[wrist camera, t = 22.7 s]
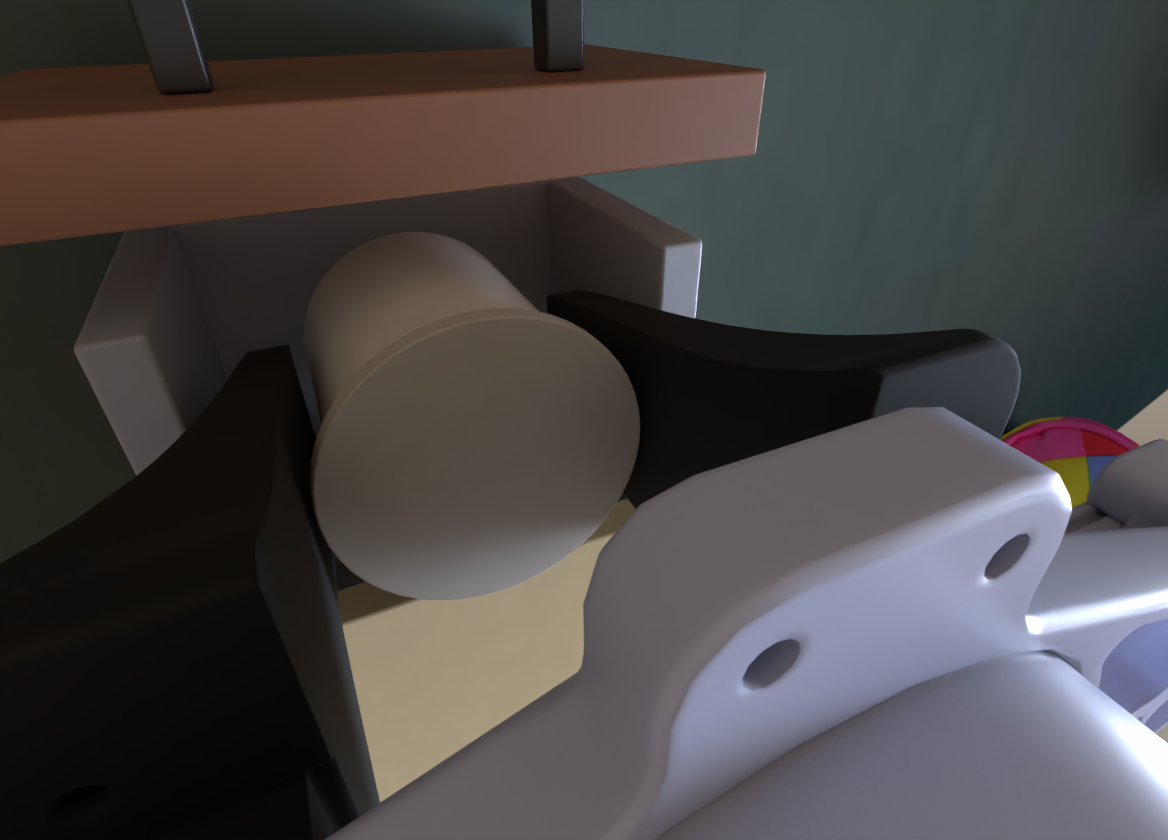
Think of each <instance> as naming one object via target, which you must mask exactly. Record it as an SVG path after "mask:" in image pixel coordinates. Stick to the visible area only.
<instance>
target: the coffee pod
mask: <svg viewBox="0 0 1168 840" xmlns="http://www.w3.org/2000/svg"><path fill="white" fill-rule="evenodd" d="M304 344H305V352H306V356H307V361H308V365H309V370H310V374H311V379H312V383H313V388H314V392H315V397H316V402H317V406H318V411H319V415H320V420H321V424H322V425H321V428H320V430H319V433H318V435H317V438H316V441H315V445H314V450H313V454H312V458H311V469H310V487H311V496H312V503H313V509H314V513H315V517H316V520H317V523H318V527H319V530H320V532H321V534H322V535H323V537H324V539H325V541H326V543H327V545H328V547H329V548H330V549H331V551H332V552H333V553H334V554H335V556H336V557H337V558H338V560H339V561H340V562H342V563H343V564H344V565H345V566H346V567H347V568H348V569H349V570H350V571H351V572H352V573H354V574H355V575H357V576H358V577H360V578H361V579H363V580H364V581H366V582H367V583H369V584H371V585H374V586H376V587H378V588H380V589H382V590H384V591H388V592H391V593H394V594H397V595H400V596H405V597H411V598H416V599H425V600H458V599H465V598H472V597H478V596H482V595H486V594H490V593H494V592H498V591H501V590H504V589H507V588H510V587H512V586H515V585H517V584H520V583H522V582H524V581H526V580H529V579H531V578H533V577H535V576H537V575H538V574H540V573H542V572H544V571H546V570H548V569H549V568H551V567H552V566H554V565H555V564H557V563H558V562H560V561H561V560H563V559H564V558H565V557H567V556H568V555H569V554H571V553H572V552H573V551H574V550H576V549H577V548H578V547H579V546H580V545H581V544H582V543H584V542H585V541H586V540H587V539H588V538H589V537H590V536H591V535H592V534H593V533H594V532H595V531H596V529H597V528H598V527H599V526H600V525H601V524H602V523H603V522H604V520H605V519H606V518H607V516H608V515H609V513H610V512H611V511H612V509H613V508H614V507H615V505H616V503H617V502H618V500H619V498H620V497H621V495H622V493H623V491H624V489H625V487H626V485H627V483H628V481H629V478H630V476H631V474H632V471H633V467H634V464H635V461H636V458H637V453H638V447H639V442H640V414H639V407H638V403H637V398H636V394H635V391H634V389H633V386H632V384H631V381H630V379H629V377H628V375H627V373H626V372H625V370H624V369H623V367H622V365H621V364H620V362H619V361H618V360H617V359H616V358H615V357H614V356H613V355H612V353H611V352H610V351H609V350H608V349H607V348H606V347H605V346H604V345H603V344H602V343H600V342H599V341H598V340H597V339H596V338H594V337H593V336H592V335H591V334H589V333H588V332H587V331H585V330H583V329H582V328H580V327H578V326H576V325H575V324H573V323H571V322H569V321H567V320H564V319H561V318H559V317H556V316H554V315H551V314H546V313H542V312H539V311H538V310H537V309H536V308H535V307H534V306H533V305H532V304H531V303H530V302H529V301H528V300H527V299H526V298H525V297H524V296H523V295H522V294H521V293H520V292H519V291H518V290H517V289H516V288H515V287H514V286H513V285H512V284H511V283H510V282H509V281H508V280H507V278H506V277H505V276H504V275H503V274H502V273H501V272H500V271H499V270H498V269H497V268H496V267H495V266H494V265H493V264H492V263H491V262H490V261H489V260H488V259H487V258H486V257H484V256H483V255H482V254H481V253H479V252H478V251H477V250H475V249H474V248H472V247H470V246H469V245H467V244H465V243H463V242H461V241H458V240H456V239H454V238H451V237H448V236H444V235H440V234H435V233H428V232H403V233H395V234H390V235H387V236H383V237H379V238H376V239H374V240H371V241H369V242H366V243H364V244H362V245H361V246H359V247H357V248H355V249H354V250H352V251H350V252H349V253H348V254H346V255H345V256H344V257H342V258H341V259H340V260H338V261H337V262H336V263H335V264H334V266H333V267H332V268H331V269H330V270H329V271H328V272H327V273H326V274H325V276H324V277H323V278H322V280H321V281H320V282H319V284H318V286H317V288H316V290H315V291H314V293H313V295H312V297H311V300H310V303H309V306H308V308H307V313H306V318H305V323H304Z"/></svg>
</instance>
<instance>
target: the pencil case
mask: <svg viewBox="0 0 1168 840" xmlns="http://www.w3.org/2000/svg"><path fill="white" fill-rule="evenodd" d="M1000 440H1001V441H1003V442H1004V443H1006V444H1008V445H1010V446H1011V447H1013V448H1015V449H1017V450H1018V451H1020V452H1022V453H1023V454H1025V455H1027V456H1029V457H1030V458H1032V459H1034V460H1036V461H1037V462H1039V463H1041V464H1043V465H1044V466H1046V467H1048V468H1050V469H1051V470H1053V471H1055V472H1056V473H1058V474H1059V476H1060V478H1061V480H1062V482H1063V484H1064V486H1065V488H1066V490H1067V492H1068V494H1069V496H1070V501H1071V506H1072V508H1073V507H1075V506H1077V505H1080V504H1082V503H1084V502H1087V494H1088V492H1089V490H1090V488H1091V486H1092V484H1093V482H1094V480H1095V478H1096V477H1097V475H1098V474H1099V472H1100V471H1101V470H1102V468H1103V467H1104V466H1105V465H1106V464H1107V463H1108V462H1109V461H1110V460H1112V459H1113V458H1115V457H1116V456H1118V455H1120V454H1123V453H1125V452H1127V451H1130V450H1132V449H1135V448H1137V447H1139V446H1140V445H1139V444H1137V443H1136V442H1134V441H1132V440H1131V439H1129V438H1128V437H1126V436H1125V435H1123V434H1122V433H1120V432H1118V431H1116V430H1114V429H1112V428H1110V427H1108V426H1106V425H1103V424H1101V423H1098V422H1095V421H1091V420H1088V419H1083V418H1075V417H1047V418H1040V419H1036V420H1032V421H1029V422H1027V423H1024V424H1022V425H1020V426H1018V427H1016V428H1015V429H1013V430H1012V431H1010V432H1008V433H1007V434H1005V435H1004V436H1002V437H1001V439H1000Z"/></svg>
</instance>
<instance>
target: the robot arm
mask: <svg viewBox="0 0 1168 840" xmlns="http://www.w3.org/2000/svg"><path fill="white" fill-rule="evenodd" d="M547 314H551V315H554V316H556V317H559V318H561V319H564V320H567V321H569V322H571V323H573V324H575V325H576V326H578V327H580V328H582V329H583V330H585V331H587V332H588V333H589V334H591V335H592V336H593V337H594V338H596V339H597V340H598V341H599V342H600V343H602V344H603V345H604V346H605V347H606V348H607V349H608V350H609V351H610V352H611V353H612V355H613V356H614V357H615V358H616V359H617V360H618V361H619V362H620V364H621V365H622V367H623V369H624V370H625V372H626V373H627V375H628V377H629V379H630V381H631V384H632V386H633V389H634V391H635V394H636V398H637V403H638V407H639V414H640V442H639V447H638V453H637V458H636V461H635V464H634V467H633V471H632V474H631V476H630V478H629V481H628V483H627V485H626V487H625V489H624V491H623V493H624V495H625V496H626V497H627V498H628V500H629V501H630V502H631V503H632V505H633V506H634V508H635V509H636V510H635V511H634V512H633V514H632V515H631V516H630V517H629V518H628V519H627V520H626V522H625V523H624V524H623V525H622V526H621V527H620V528H619V530H618V531H617V532H616V533H615V534H614V535H613V536H612V538H611V539H610V540H609V541H608V542H607V543H606V544H605V546H604V547H603V548H602V550H601V551H600V553H599V555H598V558H597V561H596V564H595V568H594V571H593V574H592V577H591V581H590V584H589V587H588V591H587V594H586V597H585V600H584V604H583V615H584V653H583V659H582V665H581V668H580V669H579V671H578V672H577V673H575V674H574V675H572V676H571V677H569V678H568V679H566V680H565V681H563V682H562V683H560V684H559V685H557V686H555V687H554V688H552V689H551V690H549V691H548V692H546V693H545V694H543V695H542V696H540V697H539V698H537V699H536V700H534V701H533V702H531V703H530V704H528V705H527V706H525V707H524V708H522V709H521V710H519V711H518V712H516V713H515V714H513V715H512V716H510V717H509V718H507V719H506V720H504V721H503V722H501V723H500V724H498V725H497V726H495V727H494V728H492V729H491V730H489V731H488V732H486V733H485V734H483V735H481V736H480V737H478V738H477V739H475V740H474V741H472V742H471V743H469V744H468V745H466V746H465V747H463V748H462V749H460V750H459V751H457V752H456V753H454V754H453V755H451V756H450V757H448V758H447V759H445V760H444V761H442V762H441V763H439V764H438V765H436V766H435V767H433V768H432V769H430V770H429V771H427V772H426V773H424V774H423V775H421V776H420V777H418V778H417V779H415V780H414V781H412V782H411V783H409V784H407V785H406V786H404V787H403V788H401V789H400V790H398V791H397V792H395V793H394V794H392V795H391V796H389V797H388V798H386V799H385V800H383V801H382V802H380V800H379V795H378V791H377V786H376V782H375V777H374V772H373V768H372V763H371V759H370V754H369V750H368V745H367V740H366V736H365V731H364V727H363V722H362V717H361V713H360V708H359V703H358V698H357V694H356V689H355V684H354V680H353V675H352V670H351V665H350V660H349V656H348V651H347V646H346V641H345V636H344V631H343V627H342V622H341V615H340V607H339V600H338V590H337V578H336V566H335V554H334V553H333V552H332V551H331V549H330V548H329V547H328V545H327V543H326V541H325V539H324V537H323V535H322V534H321V532H320V530H319V527H318V523H317V520H316V517H315V513H314V509H313V503H312V496H311V487H310V469H311V458H312V454H313V450H314V445H315V441H316V437H315V433H314V430H313V427H312V423H311V420H310V416H309V413H308V410H307V406H306V403H305V399H304V396H303V393H302V389H301V386H300V382H299V379H298V376H297V372H296V369H295V366H294V362H293V359H292V355H291V352H290V349H289V345H288V344H287V345H282V346H276V347H271V348H266V349H260V350H255V351H250V352H247V353H246V354H245V356H244V357H243V358H242V360H241V361H240V362H239V364H238V365H237V366H236V368H235V369H234V371H233V372H232V374H231V375H230V376H229V378H228V379H227V381H226V382H225V383H224V385H223V386H222V388H221V389H220V390H219V392H218V393H217V394H216V396H215V397H214V398H213V399H212V401H211V402H210V403H209V405H208V406H207V407H206V408H205V409H204V410H203V412H202V413H201V414H200V415H199V416H198V417H197V418H196V419H195V420H194V422H193V423H192V424H191V425H190V426H189V427H188V428H187V429H186V430H185V432H184V433H183V434H182V435H181V436H180V437H179V438H178V439H177V440H176V441H175V442H174V443H173V444H172V445H171V446H170V447H169V448H168V449H167V450H166V451H165V452H164V453H163V454H161V455H160V456H159V457H158V458H157V459H156V460H155V461H153V462H152V463H151V464H150V465H149V466H148V467H146V468H145V469H144V470H143V471H142V472H141V473H139V474H138V475H137V476H136V477H134V478H133V479H132V480H131V481H129V482H128V483H127V484H125V485H124V486H123V487H121V488H120V489H118V490H117V491H115V492H114V493H113V494H111V495H110V496H108V497H107V498H106V499H104V500H103V501H101V502H100V503H98V504H97V505H96V506H94V507H93V508H91V509H90V510H89V511H87V512H86V513H84V514H83V515H81V516H80V517H79V518H77V519H76V520H74V521H72V522H71V523H69V524H68V525H66V526H64V527H63V528H61V529H59V530H58V531H56V532H54V533H53V534H51V535H50V536H48V537H46V538H45V539H43V540H41V541H40V542H38V543H36V544H34V545H33V546H31V547H29V548H27V549H25V550H24V551H22V552H20V553H18V554H16V555H15V556H13V557H11V558H9V559H7V560H6V561H4V562H2V563H0V840H1168V743H1166V742H1165V741H1164V740H1163V739H1161V738H1160V737H1159V736H1158V735H1156V734H1155V733H1157V732H1158V731H1159V730H1161V729H1162V728H1163V727H1165V726H1166V725H1167V724H1168V441H1166V440H1164V439H1158V440H1154V441H1151V442H1149V443H1147V444H1144V445H1142V446H1139V447H1137V448H1135V449H1132V450H1130V451H1127V452H1125V453H1123V454H1120V455H1118V456H1116V457H1115V458H1113V459H1112V460H1110V461H1109V462H1108V463H1107V464H1106V465H1105V466H1104V467H1103V468H1102V470H1101V471H1100V472H1099V474H1098V475H1097V477H1096V478H1095V480H1094V482H1093V484H1092V486H1091V488H1090V490H1089V492H1088V494H1087V502H1084V503H1082V504H1080V505H1077V506H1075V507H1073V508H1072V506H1071V501H1070V496H1069V494H1068V492H1067V490H1066V488H1065V486H1064V484H1063V482H1062V480H1061V478H1060V476H1059V474H1058V473H1056V472H1055V471H1053V470H1051V469H1050V468H1048V467H1046V466H1044V465H1043V464H1041V463H1039V462H1037V461H1036V460H1034V459H1032V458H1030V457H1029V456H1027V455H1025V454H1023V453H1022V452H1020V451H1018V450H1017V449H1015V448H1013V447H1011V446H1010V445H1008V444H1006V443H1004V442H1003V441H1001V440H1000V439H1001V437H1002V434H1003V432H1004V429H1005V427H1006V425H1007V422H1008V420H1009V418H1010V415H1011V413H1012V411H1013V408H1014V405H1015V402H1016V399H1017V396H1018V393H1019V386H1020V377H1021V372H1020V367H1019V362H1018V357H1017V354H1016V352H1015V351H1014V350H1013V349H1012V348H1011V347H1010V345H1009V344H1007V343H1005V342H1003V341H1001V340H999V339H997V338H994V337H992V336H990V335H988V334H986V333H983V332H981V331H979V330H973V329H954V330H941V331H929V332H916V333H904V334H887V335H818V334H802V333H785V332H775V331H765V330H758V329H751V328H744V327H737V326H730V325H724V324H719V323H713V322H709V321H704V320H700V319H695V318H691V317H686V316H682V315H678V314H674V313H670V312H666V311H662V310H659V309H655V308H651V307H648V306H644V305H640V304H637V303H633V302H630V301H626V300H622V299H619V298H615V297H611V296H608V295H603V294H599V293H595V292H590V291H582V290H575V291H569V292H564V293H559V294H553V295H548V296H547Z"/></svg>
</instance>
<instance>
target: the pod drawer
mask: <svg viewBox="0 0 1168 840" xmlns="http://www.w3.org/2000/svg"><path fill="white" fill-rule="evenodd" d="M128 3H129V6H130V9H131V12H132V15H133V18H134V21H135V24H136V27H137V30H138V33H139V36H140V39H141V42H142V45H143V48H144V51H145V53H146V56H147V59H148V62H149V64H133V65H111V66H88V67H65V68H43V69H23V70H20V71H17V72H15V73H12V74H9V75H7V76H4V77H1V78H0V246H7V245H15V244H24V243H32V242H40V241H48V240H57V239H65V238H73V237H82V236H90V235H98V234H106V233H115V232H123V231H125V232H124V234H123V235H122V238H121V240H120V242H119V245H118V247H117V249H116V251H115V254H114V256H113V258H112V261H111V263H110V265H109V268H108V270H107V272H106V274H105V277H104V279H103V281H102V284H101V286H100V288H99V291H98V293H97V295H96V297H95V300H94V302H93V304H92V307H91V309H90V311H89V313H88V316H87V318H86V320H85V323H84V325H83V327H82V330H81V332H80V334H79V336H78V339H77V341H76V343H75V346H74V353H75V355H76V357H77V359H78V361H79V363H80V365H81V367H82V369H83V371H84V373H85V375H86V377H87V379H88V381H89V383H90V385H91V387H92V389H93V391H94V392H95V394H96V396H97V398H98V400H99V402H100V404H101V406H102V408H103V410H104V412H105V414H106V416H107V418H108V420H109V422H110V424H111V426H112V428H113V430H114V432H115V434H116V436H117V438H118V440H119V442H120V444H121V446H122V448H123V450H124V452H125V454H126V456H127V458H128V460H129V462H130V464H131V466H132V468H133V470H134V472H135V474H136V476H137V475H138V474H139V473H141V472H142V471H143V470H144V469H145V468H146V467H148V466H149V465H150V464H151V463H152V462H153V461H155V460H156V459H157V458H158V457H159V456H160V455H161V454H163V453H164V452H165V451H166V450H167V449H168V448H169V447H170V446H171V445H172V444H173V443H174V442H175V441H176V440H177V439H178V438H179V437H180V436H181V435H182V434H183V433H184V432H185V430H186V429H187V428H188V427H189V426H190V425H191V424H192V423H193V422H194V420H195V419H196V418H197V417H198V416H199V415H200V414H201V413H202V412H203V410H204V409H205V408H206V407H207V406H208V405H209V403H210V402H211V401H212V399H213V398H214V397H215V396H216V394H217V393H218V392H219V390H220V389H221V388H222V386H223V385H224V383H225V382H226V381H227V379H228V378H229V376H230V375H231V374H232V372H233V371H234V369H235V368H236V366H237V365H238V364H239V362H240V361H241V360H242V358H243V357H244V356H245V354H246V353H247V352H250V351H255V350H260V349H266V348H271V347H276V346H282V345H287V344H288V345H289V349H290V352H291V355H292V359H293V362H294V366H295V369H296V372H297V376H298V379H299V382H300V386H301V389H302V393H303V396H304V399H305V403H306V406H307V410H308V413H309V416H310V420H311V423H312V427H313V430H314V433H315V437H316V438H317V435H318V433H319V430H320V428H321V425H322V424H321V420H320V415H319V411H318V406H317V402H316V397H315V392H314V388H313V383H312V379H311V374H310V370H309V365H308V361H307V356H306V352H305V344H304V323H305V318H306V313H307V308H308V306H309V303H310V300H311V297H312V295H313V293H314V291H315V290H316V288H317V286H318V284H319V282H320V281H321V280H322V278H323V277H324V276H325V274H326V273H327V272H328V271H329V270H330V269H331V268H332V267H333V266H334V264H335V263H336V262H337V261H338V260H340V259H341V258H342V257H344V256H345V255H346V254H348V253H349V252H350V251H352V250H354V249H355V248H357V247H359V246H361V245H362V244H364V243H366V242H369V241H371V240H374V239H376V238H379V237H383V236H387V235H390V234H395V233H403V232H428V233H435V234H440V235H444V236H448V237H451V238H454V239H456V240H458V241H461V242H463V243H465V244H467V245H469V246H470V247H472V248H474V249H475V250H477V251H478V252H479V253H481V254H482V255H483V256H484V257H486V258H487V259H488V260H489V261H490V262H491V263H492V264H493V265H494V266H495V267H496V268H497V269H498V270H499V271H500V272H501V273H502V274H503V275H504V276H505V277H506V278H507V280H508V281H509V282H510V283H511V284H512V285H513V286H514V287H515V288H516V289H517V290H518V291H519V292H520V293H521V294H522V295H523V296H524V297H525V298H526V299H527V300H528V301H529V302H530V303H531V304H532V305H533V306H534V307H535V308H536V309H537V310H538V311H539V312H542V313H546V314H547V296H548V295H553V294H559V293H564V292H569V291H575V290H582V291H590V292H595V293H599V294H603V295H608V296H611V297H615V298H619V299H622V300H626V301H630V302H633V303H637V304H640V305H644V306H648V307H651V308H655V309H659V310H662V311H666V312H670V313H674V314H678V315H682V316H686V317H691V318H695V317H696V306H697V295H698V285H699V274H700V263H701V253H702V241H701V240H700V239H698V238H696V237H694V236H692V235H690V234H688V233H686V232H684V231H682V230H681V229H679V228H677V227H675V226H673V225H671V224H669V223H667V222H665V221H663V220H661V219H659V218H657V217H656V216H654V215H652V214H650V213H648V212H646V211H644V210H642V209H640V208H638V207H636V206H634V205H633V204H631V203H629V202H627V201H625V200H623V199H621V198H619V197H617V196H615V195H613V194H611V193H609V192H608V191H606V190H604V189H602V188H600V187H598V186H596V185H594V184H592V183H590V182H588V181H586V180H584V179H583V178H580V177H578V176H586V175H594V174H602V173H610V172H619V171H627V170H635V169H644V168H652V167H660V166H668V165H677V164H685V163H693V162H701V161H710V160H718V159H726V158H734V157H743V156H751V155H754V154H755V152H756V146H757V139H758V131H759V123H760V115H761V108H762V100H763V92H764V85H765V77H766V72H765V71H764V70H763V69H756V68H749V67H742V66H735V65H728V64H721V63H714V62H707V61H699V60H692V59H685V58H678V57H671V56H664V55H657V54H650V53H643V52H636V51H629V50H621V49H614V48H607V47H600V46H593V45H584V16H583V0H531V6H532V28H533V47H519V48H496V49H473V50H451V51H428V52H405V53H383V54H360V55H337V56H315V57H292V58H269V59H247V60H224V61H207V58H206V54H205V51H204V48H203V44H202V41H201V37H200V34H199V31H198V27H197V24H196V20H195V17H194V13H193V10H192V7H191V3H190V0H128ZM625 499H628V498H627V497H626V496H625V495H624V493H622V495H621V497H620V498H619V500H618V501H621V500H625ZM335 566H336V578H337V590H338V591H339V590H342V589H345V588H348V587H351V586H354V585H358V584H361V583H364V582H366V581H364V580H363V579H361V578H360V577H358V576H357V575H355V574H354V573H352V572H351V571H350V570H349V569H348V568H347V567H346V566H345V565H344V564H343V563H342V562H340V561H339V560H338V558H337V557H336V556H335Z"/></svg>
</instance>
